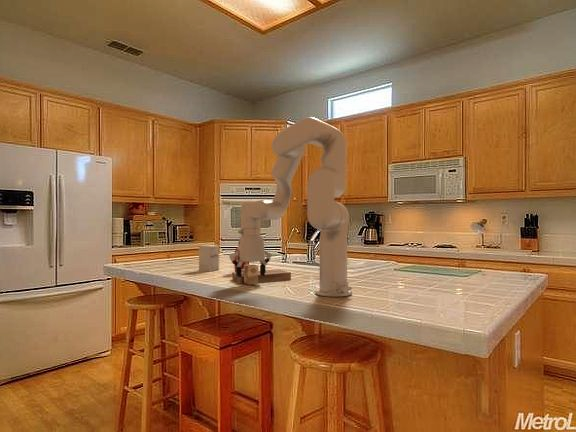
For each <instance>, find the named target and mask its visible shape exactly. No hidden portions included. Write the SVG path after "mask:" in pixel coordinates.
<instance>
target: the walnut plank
mask: <svg viewBox="0 0 576 432" xmlns="http://www.w3.org/2000/svg"><path fill="white" fill-rule="evenodd" d="M231 274H232V281H233V282H234V281H235V282H237V283H238V284H241V285H242V284H243V285H245V284H246V283H244V273H243V272H242V277H238V276H237V275H236V272H235V271H234V272H232V273H231ZM291 280H292V272H290V271H287V270H284V269H280V268H279V269H266V272H265V276H263V275H260V270H258V284H259V283H269V282H279V281H281V282H282V281H291ZM246 285H247V284H246Z"/></svg>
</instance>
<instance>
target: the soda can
mask: <svg viewBox="0 0 576 432" xmlns="http://www.w3.org/2000/svg"><path fill="white" fill-rule="evenodd" d="M237 251H238V247H236V248H235V250H234V253H235V252H237ZM234 259H235V261H236V262H237V261H238V256H236V257H235V258H234ZM244 265H250V262H243V263H242V264H241V266H240V267H241V268H242V269H244ZM233 266H234V269H233V270H234V272H236V266H235V265H234V264H233Z"/></svg>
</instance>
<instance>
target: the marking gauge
mask: <svg viewBox="0 0 576 432" xmlns="http://www.w3.org/2000/svg"><path fill="white" fill-rule="evenodd" d="M258 271H259V265H256V264H249V265H244V269H242V272H243V273H244V283H246V285H249V286H250V285H258V284H259V283H258Z"/></svg>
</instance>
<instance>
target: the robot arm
mask: <svg viewBox="0 0 576 432" xmlns="http://www.w3.org/2000/svg"><path fill="white" fill-rule="evenodd" d="M307 144H310V145H311V146H312V145H313V146H316V147H320V148H322V150H323V151H322V153H321V158H320V160H321V161H320V163H321V167H318V168H316V169H314V170H313V171H312V172H311V173H310V175H309V177H308V180H307V186H306V187H307V188H306V189H307V190H306V194H307V197H306V198H307V199H306V215H307V220H308V222H309V224H310V225H311V226H312V227H313V228H314V229H317V230H318V231H319V230H320V235H319V241H318V242H319V246H318V249H319V253H318V255H319V256H318V257H319V258H318V259H319V262H318V263H319V265H318V266H319V288H318V287H317V288H316V289H314V293H315V294H316V295H318V296H321V297H330V298H331V297H332V298H335V297H338V298H339V297H348V296H351V295H352V294H353V290H352V289H353V287H352V286H349V281H348V232H349V223H350V214H349V211H348V208H347V206H345V204H343V203H340V202H338V201H335V198H338V197H341V196H343V195H344V193H345V191H346V187H347V140H346V137H345V135H344V134H343V132H342V131H341V130H340V129H338V128H336V127H335V126H333V125H331V124H329V123H327V122H324V121H322V120H320V119H318V118H315V117H312V116H308V117H304V118H302V119H300V120H298V121H296V122H294V123H293V124H291V125H290V126H288V127H286V128H284V129H282V130H281V131H280V132H278V133H277V134H276V135H275V136H274V137H273V139H272V141H271V149H272V152H273V153H274V154H275V155H277V156H276V160H275V162H274V164H273V165H272V168H271V171H270V174H271V176H272V178H273V179H274V181H275V184H276V189H275V190H276V191H275V194H274V196H273V199H272V200H269V199H268V200H265V199H263V200H256V201H253V200H251V201H249V200H248V201H242V202H241V205H240V207H241V208H240V216H241V217H240V219H241V220H240V227H241V228H240V229H237V234H240V236H239V238H238V244H237V245H238V246H237V248H238V251H237V252H235V251H234V253H231V254H229V259H230V261H231V263H232V264H233V266H234V265H235V266H236V275H237V276H238V277H242V268H241V267H240V266H241V264H242V263H243V262H249V263H256V262H257V263H258V262H259V263H260V266H259V271H260V275H263V276H265V272H266V270H267V269H266V266H267V265H268V264H269V262H270V259H271V258H272V255H273V254H272V253H270V252H269V251H266V250H265V243H264V242H265V241H264V237H263V235H261V221H270V220H272V221H273V220H274V221H275V220H277V221H278V220H279V219H280V218H282V217H283V216H284V214H285V213H286V211H287V209H288V206H289V204H290V201H291V200H292V199H291V198H292V191H293V189H292V188H293V187H292V186H293V185H292V181H293V179H294V177H295V175H296V172H297V170H298V168H299V165H300V164H301V161H302V159H303V157H304V155H305V152H306V145H307ZM236 256H238V261H237V262H236V261H235V259H234V258H235V257H236Z"/></svg>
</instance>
